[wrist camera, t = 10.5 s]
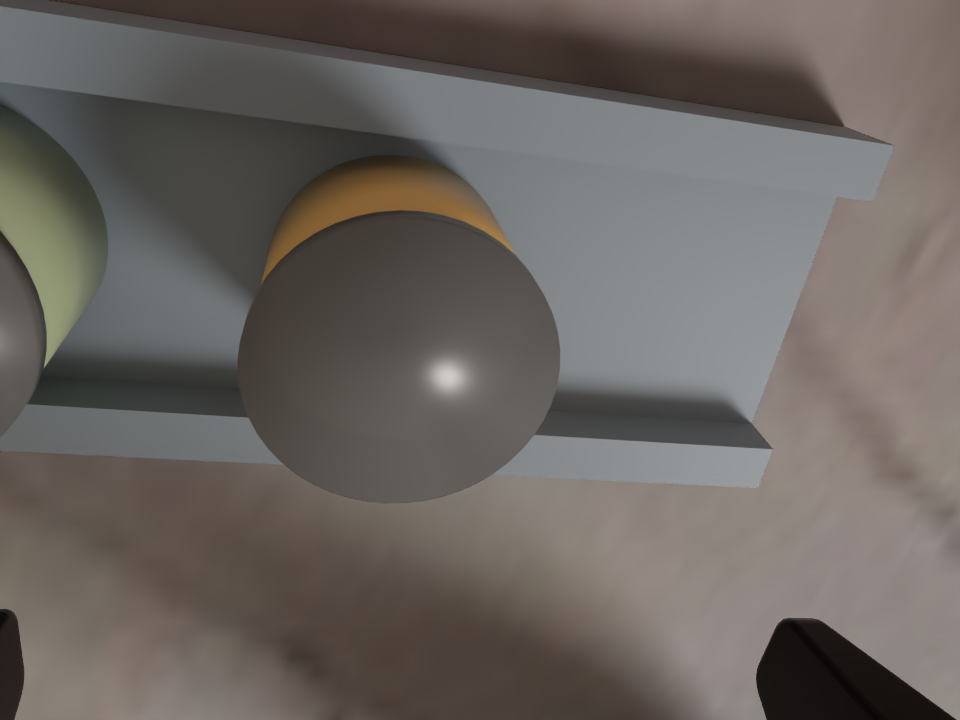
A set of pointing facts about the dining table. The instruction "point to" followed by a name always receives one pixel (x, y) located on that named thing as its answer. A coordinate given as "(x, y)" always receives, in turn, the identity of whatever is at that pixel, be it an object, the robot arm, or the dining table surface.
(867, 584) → the dining table surface
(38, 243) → the jar in lane
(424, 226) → the jar
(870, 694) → the robot arm
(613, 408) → the lane
